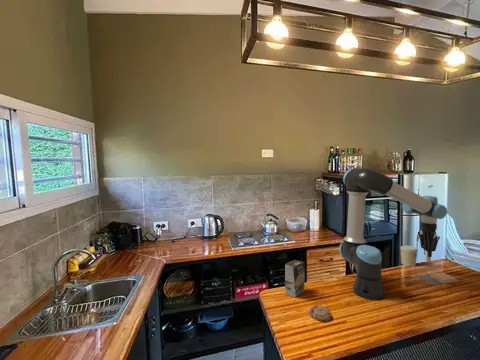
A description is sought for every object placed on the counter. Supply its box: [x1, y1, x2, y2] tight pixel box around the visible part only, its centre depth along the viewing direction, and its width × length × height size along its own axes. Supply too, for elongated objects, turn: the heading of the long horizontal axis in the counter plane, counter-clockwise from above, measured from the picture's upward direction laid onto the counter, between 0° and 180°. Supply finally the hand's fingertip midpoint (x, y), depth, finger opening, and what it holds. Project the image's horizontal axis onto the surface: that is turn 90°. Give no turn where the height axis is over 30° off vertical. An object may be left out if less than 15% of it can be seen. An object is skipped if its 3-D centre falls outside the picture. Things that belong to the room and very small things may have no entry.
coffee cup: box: [400, 245, 418, 267], centre depth 173 cm, size 9×9×12 cm
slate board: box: [415, 272, 461, 286], centre depth 152 cm, size 18×12×1 cm, turn 101°
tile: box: [430, 272, 457, 284], centre depth 150 cm, size 8×2×8 cm
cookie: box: [308, 304, 333, 323], centre depth 120 cm, size 10×11×3 cm
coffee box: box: [284, 259, 306, 298], centre depth 141 cm, size 9×6×16 cm
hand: (427, 261), depth 159 cm, fingers closed
